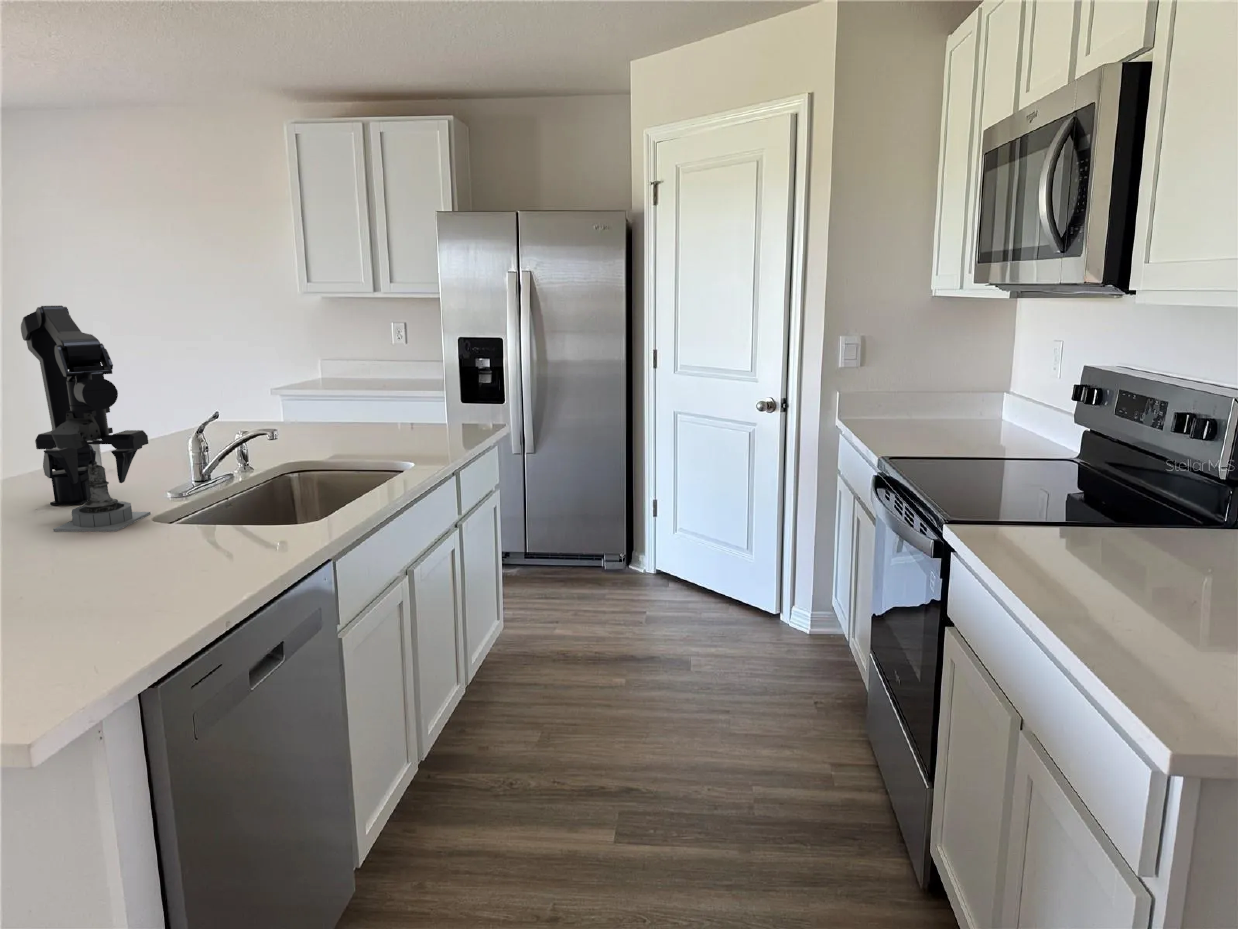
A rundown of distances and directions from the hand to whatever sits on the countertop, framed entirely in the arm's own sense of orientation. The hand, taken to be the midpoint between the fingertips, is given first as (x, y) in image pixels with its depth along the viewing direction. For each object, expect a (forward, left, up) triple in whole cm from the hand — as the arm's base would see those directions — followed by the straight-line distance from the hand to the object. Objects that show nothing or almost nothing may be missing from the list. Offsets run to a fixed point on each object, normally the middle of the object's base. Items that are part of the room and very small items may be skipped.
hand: (98, 482), depth 162 cm
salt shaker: (0, 0, -8) cm, 8 cm away
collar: (0, 0, -8) cm, 8 cm away
